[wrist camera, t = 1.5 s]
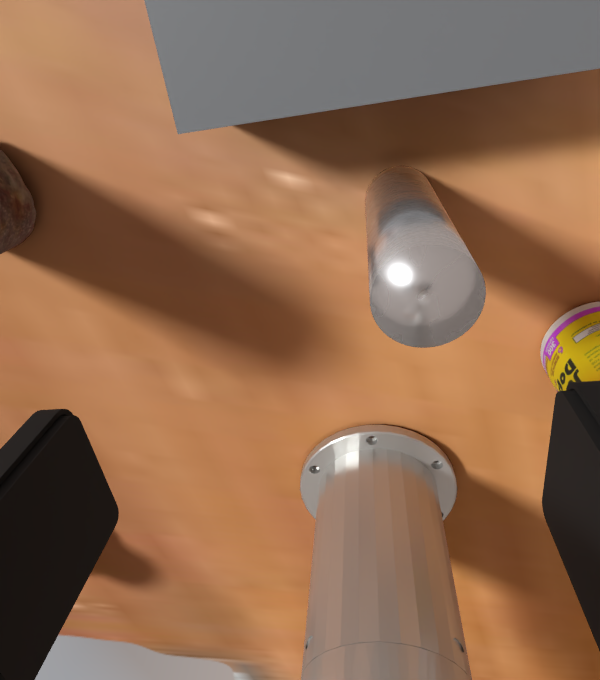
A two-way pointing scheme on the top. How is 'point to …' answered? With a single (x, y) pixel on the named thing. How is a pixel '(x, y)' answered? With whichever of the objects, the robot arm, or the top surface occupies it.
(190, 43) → the socket block
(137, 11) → the top surface
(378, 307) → the steel pin
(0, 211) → the candle
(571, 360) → the supplement bottle
